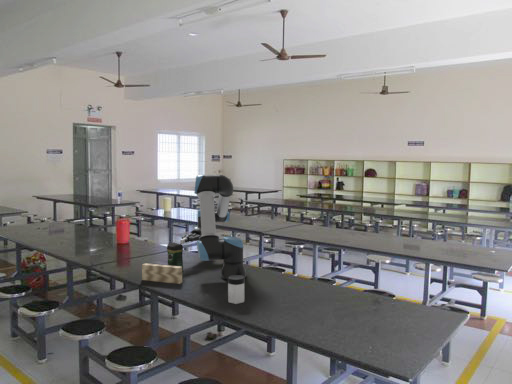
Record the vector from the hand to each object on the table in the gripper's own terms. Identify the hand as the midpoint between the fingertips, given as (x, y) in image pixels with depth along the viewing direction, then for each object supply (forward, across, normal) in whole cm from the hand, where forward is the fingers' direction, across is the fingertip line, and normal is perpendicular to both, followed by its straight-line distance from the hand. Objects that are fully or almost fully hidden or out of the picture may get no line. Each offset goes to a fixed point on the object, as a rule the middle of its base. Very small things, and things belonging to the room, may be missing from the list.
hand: (181, 242), depth 255 cm
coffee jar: (+9, 0, -17) cm, 20 cm away
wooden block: (+25, 0, -17) cm, 30 cm away
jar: (+42, -51, -17) cm, 68 cm away
